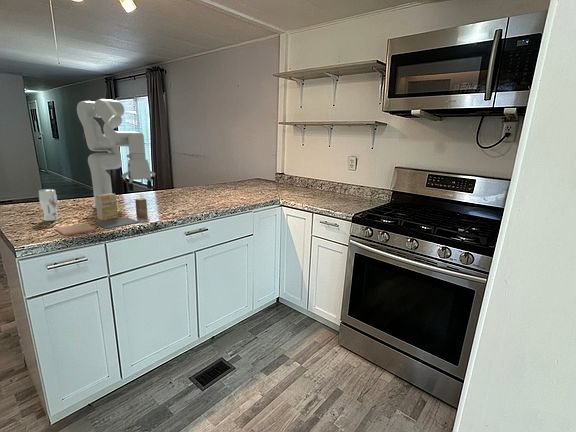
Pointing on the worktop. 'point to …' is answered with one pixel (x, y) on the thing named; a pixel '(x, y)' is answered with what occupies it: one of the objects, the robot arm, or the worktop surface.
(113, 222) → the mat
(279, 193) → the worktop surface
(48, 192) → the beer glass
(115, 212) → the supplement box
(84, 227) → the pad
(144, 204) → the walnut block
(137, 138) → the robot arm
